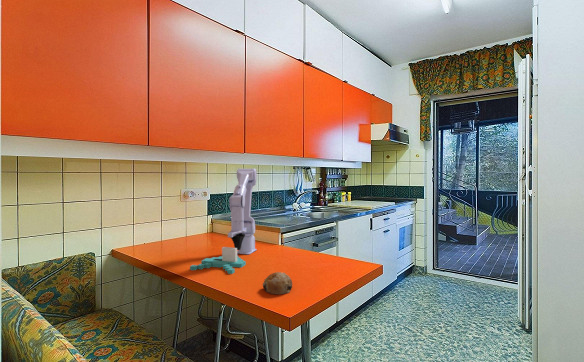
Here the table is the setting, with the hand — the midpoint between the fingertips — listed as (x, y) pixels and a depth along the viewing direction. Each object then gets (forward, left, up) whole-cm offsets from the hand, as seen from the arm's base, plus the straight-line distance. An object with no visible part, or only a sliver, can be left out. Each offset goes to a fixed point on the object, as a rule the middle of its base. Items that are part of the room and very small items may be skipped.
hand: (237, 249), depth 149 cm
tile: (+5, -1, -4) cm, 7 cm away
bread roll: (+27, +30, -6) cm, 41 cm away
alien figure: (+7, -4, -6) cm, 10 cm away
